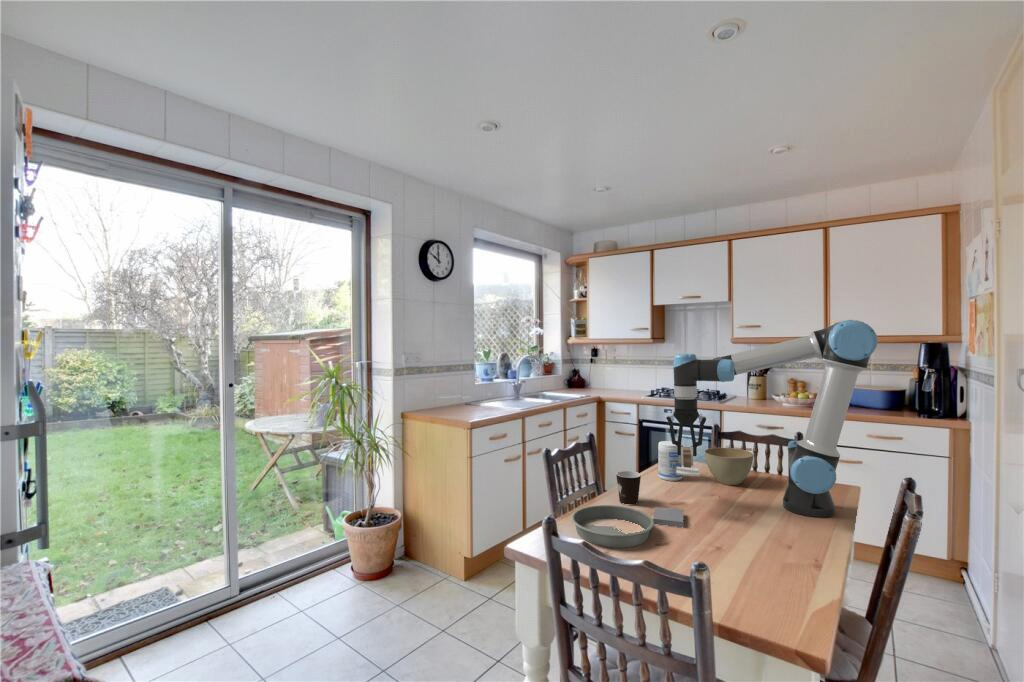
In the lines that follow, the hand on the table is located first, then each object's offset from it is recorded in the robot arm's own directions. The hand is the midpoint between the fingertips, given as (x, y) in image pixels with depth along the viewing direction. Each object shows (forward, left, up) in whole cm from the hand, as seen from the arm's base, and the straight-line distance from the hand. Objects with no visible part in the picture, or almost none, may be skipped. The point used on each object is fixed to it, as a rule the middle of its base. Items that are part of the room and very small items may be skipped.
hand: (687, 464), depth 168 cm
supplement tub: (+24, -22, -14) cm, 36 cm away
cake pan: (-1, +38, -15) cm, 41 cm away
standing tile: (-1, +12, -14) cm, 18 cm away
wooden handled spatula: (-1, +2, 0) cm, 2 cm away
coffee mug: (+15, +13, -14) cm, 25 cm away
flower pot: (+6, -36, -14) cm, 39 cm away
